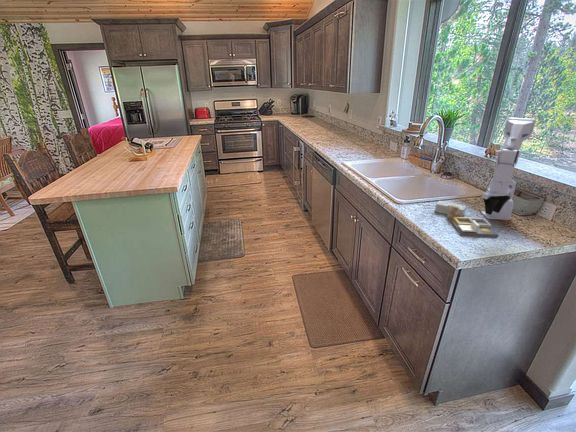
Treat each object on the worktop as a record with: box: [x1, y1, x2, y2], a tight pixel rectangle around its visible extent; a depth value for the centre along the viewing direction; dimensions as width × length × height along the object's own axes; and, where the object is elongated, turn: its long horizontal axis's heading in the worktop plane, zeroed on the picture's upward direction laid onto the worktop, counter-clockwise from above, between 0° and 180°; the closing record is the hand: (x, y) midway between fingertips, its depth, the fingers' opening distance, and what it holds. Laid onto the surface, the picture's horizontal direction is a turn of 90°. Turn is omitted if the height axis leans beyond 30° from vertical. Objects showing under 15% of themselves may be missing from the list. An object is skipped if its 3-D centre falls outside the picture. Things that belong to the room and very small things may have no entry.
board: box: [449, 216, 499, 238], centre depth 130 cm, size 14×14×2 cm
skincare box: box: [434, 200, 467, 217], centre depth 145 cm, size 6×4×12 cm
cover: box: [458, 220, 480, 232], centre depth 126 cm, size 6×5×3 cm
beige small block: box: [446, 205, 459, 221], centre depth 139 cm, size 4×4×6 cm
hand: (492, 212), depth 123 cm, fingers open, 4 cm apart
